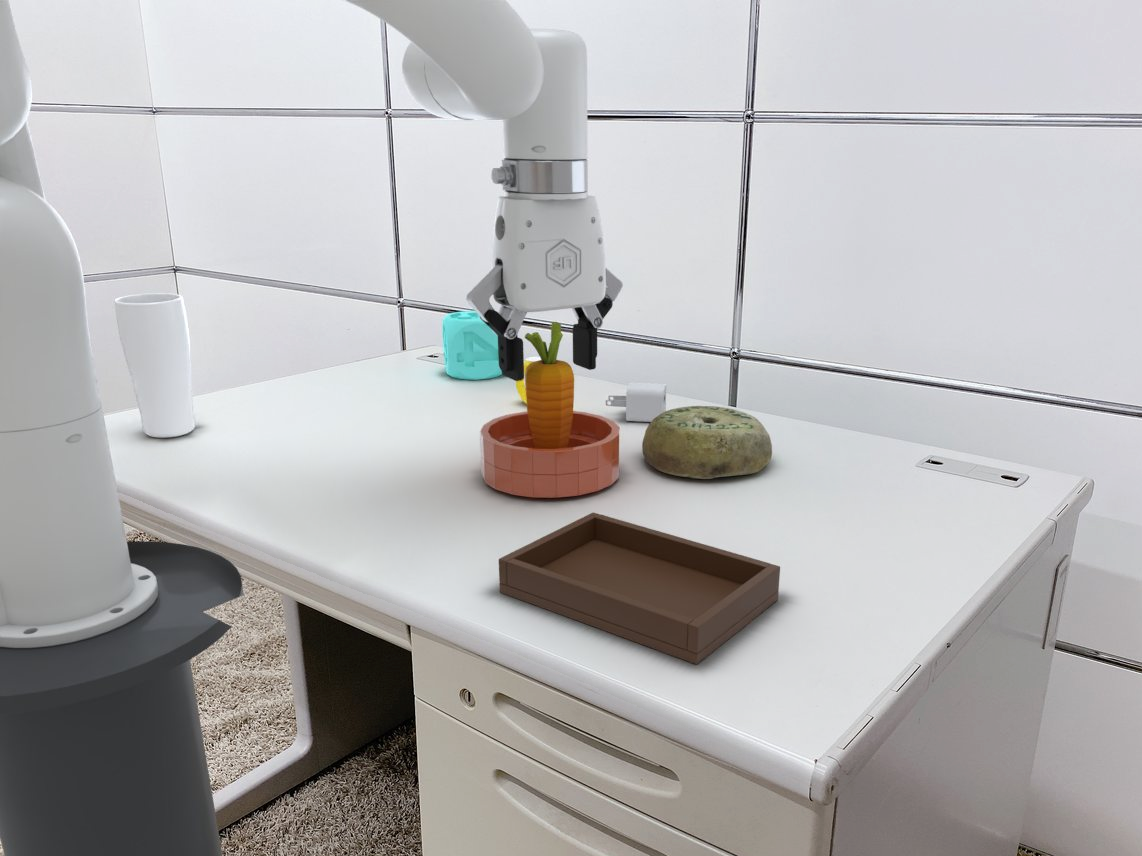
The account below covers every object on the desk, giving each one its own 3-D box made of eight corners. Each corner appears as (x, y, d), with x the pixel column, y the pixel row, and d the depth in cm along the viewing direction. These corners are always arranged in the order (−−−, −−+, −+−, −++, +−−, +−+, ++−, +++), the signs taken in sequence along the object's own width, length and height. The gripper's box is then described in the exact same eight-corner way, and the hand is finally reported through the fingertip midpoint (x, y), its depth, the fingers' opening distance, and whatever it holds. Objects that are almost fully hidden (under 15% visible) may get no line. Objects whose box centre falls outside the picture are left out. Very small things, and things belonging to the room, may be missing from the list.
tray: (499, 592, 74) (498, 558, 73) (593, 542, 83) (592, 511, 82) (696, 664, 64) (698, 627, 64) (778, 599, 73) (780, 566, 72)
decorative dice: (508, 378, 134) (506, 320, 131) (449, 381, 132) (446, 322, 129) (500, 364, 141) (498, 309, 139) (444, 367, 139) (440, 311, 136)
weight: (778, 448, 107) (781, 404, 106) (760, 490, 95) (763, 441, 93) (659, 436, 111) (660, 394, 109) (627, 475, 98) (627, 428, 97)
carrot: (539, 484, 94) (536, 331, 89) (517, 469, 98) (513, 322, 93) (584, 476, 97) (584, 326, 92) (561, 461, 101) (559, 317, 96)
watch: (564, 406, 121) (564, 359, 119) (551, 411, 119) (550, 364, 117) (526, 399, 124) (525, 353, 122) (512, 404, 122) (511, 357, 120)
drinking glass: (128, 431, 110) (104, 297, 104) (190, 419, 114) (170, 290, 109) (148, 445, 105) (124, 306, 100) (212, 433, 109) (192, 299, 104)
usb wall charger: (662, 424, 115) (663, 391, 114) (604, 421, 116) (604, 388, 114) (665, 414, 119) (666, 382, 117) (609, 411, 120) (609, 380, 118)
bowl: (525, 512, 89) (524, 460, 87) (459, 470, 99) (456, 423, 97) (646, 483, 96) (646, 435, 95) (572, 447, 107) (572, 403, 105)
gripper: (477, 185, 80) (486, 394, 86) (648, 180, 90) (645, 368, 96) (438, 180, 86) (449, 376, 92) (602, 176, 96) (602, 353, 102)
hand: (549, 371), depth 94 cm, fingers open, 7 cm apart
